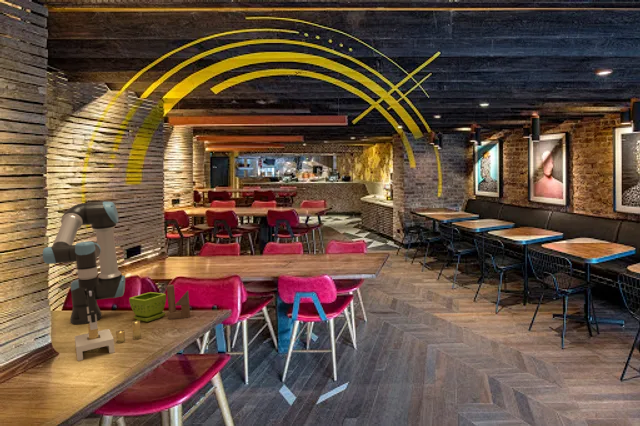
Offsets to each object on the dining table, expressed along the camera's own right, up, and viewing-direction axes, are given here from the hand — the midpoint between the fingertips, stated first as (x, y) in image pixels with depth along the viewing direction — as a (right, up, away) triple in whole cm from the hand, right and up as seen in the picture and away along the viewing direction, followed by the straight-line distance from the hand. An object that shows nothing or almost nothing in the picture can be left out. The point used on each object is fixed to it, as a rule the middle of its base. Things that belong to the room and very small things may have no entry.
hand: (92, 324), depth 185 cm
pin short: (+8, -11, +10) cm, 16 cm away
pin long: (+1, -12, +1) cm, 12 cm away
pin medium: (+14, -10, +13) cm, 22 cm away
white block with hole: (+1, -12, +1) cm, 12 cm away
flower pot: (+8, -8, +43) cm, 44 cm away
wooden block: (+24, -7, +41) cm, 49 cm away
